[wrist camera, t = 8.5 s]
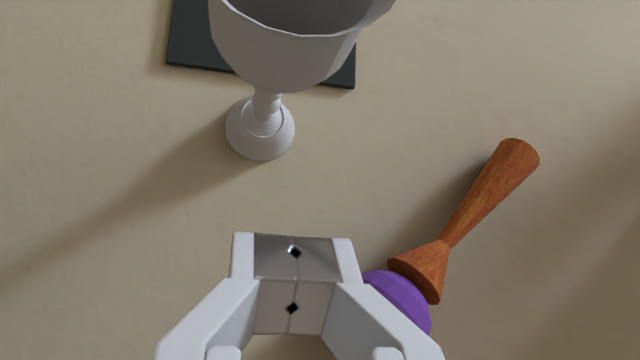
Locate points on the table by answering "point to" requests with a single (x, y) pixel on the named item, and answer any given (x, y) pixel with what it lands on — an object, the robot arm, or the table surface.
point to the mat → (201, 52)
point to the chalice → (282, 59)
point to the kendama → (451, 235)
